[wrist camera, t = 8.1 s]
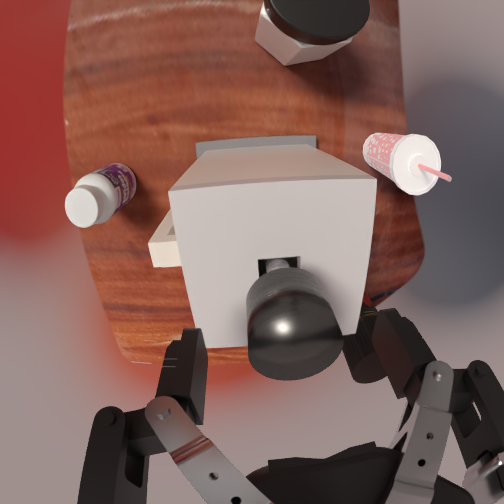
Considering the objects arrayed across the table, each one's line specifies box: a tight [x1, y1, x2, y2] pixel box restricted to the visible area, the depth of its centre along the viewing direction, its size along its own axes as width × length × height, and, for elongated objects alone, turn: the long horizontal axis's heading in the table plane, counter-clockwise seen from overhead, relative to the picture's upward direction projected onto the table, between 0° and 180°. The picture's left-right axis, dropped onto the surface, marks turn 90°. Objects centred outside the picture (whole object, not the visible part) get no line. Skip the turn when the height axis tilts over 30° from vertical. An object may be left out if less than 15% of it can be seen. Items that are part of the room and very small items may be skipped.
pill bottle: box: [65, 163, 136, 228], centre depth 27 cm, size 5×5×10 cm
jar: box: [254, 0, 370, 66], centre depth 19 cm, size 9×8×12 cm
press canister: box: [148, 135, 377, 348], centre depth 25 cm, size 13×15×18 cm
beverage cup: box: [363, 133, 452, 195], centre depth 25 cm, size 6×6×14 cm
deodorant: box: [342, 290, 387, 383], centre depth 33 cm, size 6×6×15 cm
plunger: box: [246, 256, 344, 380], centre depth 18 cm, size 8×8×16 cm
